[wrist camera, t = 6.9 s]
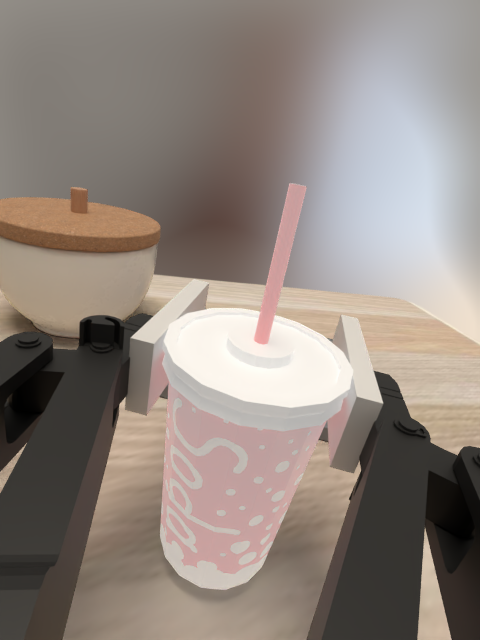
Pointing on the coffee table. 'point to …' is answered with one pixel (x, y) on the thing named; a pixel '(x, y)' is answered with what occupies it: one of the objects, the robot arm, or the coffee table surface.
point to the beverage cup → (242, 425)
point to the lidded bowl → (74, 260)
